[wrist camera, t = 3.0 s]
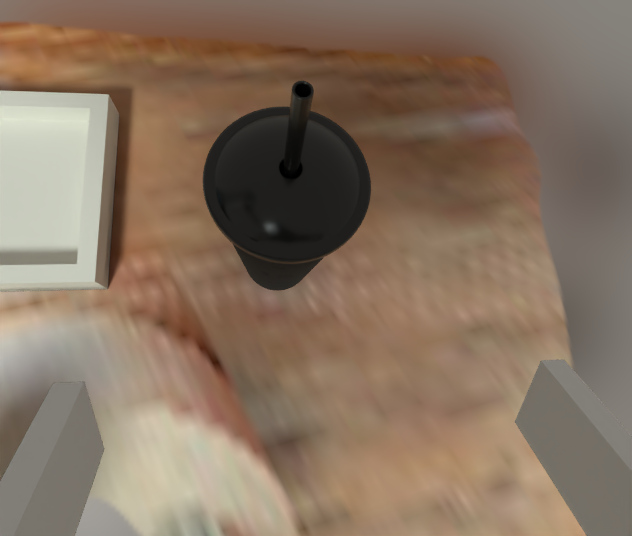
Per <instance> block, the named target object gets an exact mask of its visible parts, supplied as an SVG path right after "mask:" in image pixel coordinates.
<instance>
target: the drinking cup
mask: <svg viewBox="0 0 632 536" xmlns="http://www.w3.org/2000/svg"><path fill="white" fill-rule="evenodd" d="M313 93H314V90H313V87H312V85H311V84H310V83H308V82H306V81H298V82H296V83H295V84H294V85H293V87H292V95H291V103H290V107H271V108H266V109H261V110H258V111H254V112H252V113H249V114H247V115H245V116H243V117H241V118H239V119H238V120H236V121H235V122H233V123H232V124H231V125H230V126H228V127H227V128H226V129H225V130H224V131H223V132H222V133H221V134H220V136H219V137H218V138H217V139H216V141H215V142H214V144H213V145H212V147H211V149H210V151H209V154H208V156H207V159H206V162H205V166H204V172H203V191H204V196H205V200H206V204H207V207H208V210H209V212H210V214H211V217H212V218H213V220H214V222H215V224H216V225H217V227H218V228H219V230H220V231H221V232H222V233H223V234H224V235H225V236H226V237H227V238H228V239H229V240H230V241H231V242H232V243H233V245H234V247H235V249H236V251H237V253H238V254H239V256H240V258H241V260H242V262H243V264H244V266H245V267H246V269H247V271H248V273H249V275H250V276H251V278H252V279H253V280H254V281H255V282H256V283H257V284H259V285H260V286H262V287H264V288H267V289H270V290H285V289H288V288H291V287H293V286H294V285H296V284H297V283H299V282H300V281H301V280H302V279H303V278H304V277H305V276H306V275H307V274H308V273H309V272H310V271H311V270H312V269H313V268H314V267H315V266H316V265H317V264H318V263H319V262H320V261H321V260H322V259H323V258H324V257H325V256H327V255H329V254H331V253H333V252H334V251H336V250H337V249H339V248H340V247H341V246H343V245H344V244H345V243H346V242H347V241H348V240H349V239H350V238H351V237H352V236H353V235H354V233H355V232H356V231H357V229H358V228H359V226H360V225H361V223H362V221H363V219H364V217H365V215H366V212H367V209H368V206H369V202H370V195H371V181H370V174H369V170H368V166H367V164H366V161H365V158H364V156H363V154H362V152H361V150H360V149H359V147H358V145H357V144H356V143H355V141H354V140H353V139H352V138H351V136H350V135H349V134H348V133H347V132H346V131H345V130H344V129H342V128H341V127H340V126H339V125H337V124H336V123H335V122H333V121H332V120H330V119H328V118H326V117H324V116H322V115H320V114H318V113H315V112H312V111H310V108H311V103H312V98H313Z"/></svg>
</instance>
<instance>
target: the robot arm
mask: <svg viewBox="0 0 632 536" xmlns="http://www.w3.org/2000/svg"><path fill="white" fill-rule="evenodd" d="M515 423H516V425H517V426H518V428H519V429H520V431H521V433H522V434H523V436H524V437H525V439H526V440H527V442H528V444H529V445H530V447H531V448H532V450H533V451H534V453H535V455H536V456H537V458H538V459H539V461H540V463H541V464H542V466H543V467H544V469H545V470H546V472H547V474H548V475H549V477H550V478H551V480H552V481H553V483H554V485H555V486H556V488H557V489H558V491H559V493H560V494H561V496H562V497H563V499H564V500H565V502H566V504H567V505H568V507H569V508H570V510H571V511H572V513H573V515H574V516H575V518H576V519H577V521H578V523H579V524H580V526H581V527H582V529H583V530H584V532H585V534H586V535H587V536H632V436H631V435H630V433H629V432H628V431H627V430H626V429H625V428H624V427H623V426H622V425H621V423H620V422H619V421H618V420H617V419H616V418H615V417H614V416H613V415H612V413H611V412H610V411H609V410H608V409H607V408H606V406H605V405H604V404H603V403H602V402H601V401H600V400H599V399H598V397H597V396H596V395H595V394H594V393H593V392H592V391H591V390H590V388H589V387H588V386H587V385H586V384H585V383H584V382H583V381H582V379H581V378H580V377H579V376H578V375H577V374H576V373H575V372H574V370H573V369H572V368H571V367H570V366H569V365H568V364H567V362H566V361H565V360H543V361H541V362H540V364H539V366H538V369H537V371H536V374H535V376H534V378H533V381H532V383H531V385H530V388H529V390H528V392H527V395H526V397H525V399H524V402H523V404H522V406H521V409H520V411H519V413H518V416H517V418H516V420H515ZM103 452H104V446H103V443H102V439H101V436H100V433H99V429H98V426H97V423H96V419H95V416H94V413H93V409H92V406H91V402H90V399H89V396H88V392H87V389H86V386H85V382H65V383H53V385H52V386H51V388H50V390H49V392H48V394H47V396H46V397H45V399H44V401H43V403H42V405H41V407H40V409H39V410H38V412H37V414H36V416H35V418H34V420H33V421H32V423H31V425H30V427H29V429H28V431H27V433H26V434H25V436H24V438H23V440H22V442H21V444H20V446H19V447H18V449H17V451H16V453H15V455H14V457H13V458H12V460H11V462H10V464H9V466H8V468H7V470H6V471H5V473H4V475H3V477H2V479H1V481H0V536H75V533H76V530H77V527H78V525H79V522H80V519H81V516H82V513H83V510H84V507H85V504H86V501H87V498H88V495H89V492H90V490H91V487H92V484H93V481H94V478H95V475H96V472H97V469H98V466H99V463H100V460H101V457H102V455H103Z"/></svg>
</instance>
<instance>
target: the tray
mask: <svg viewBox="0 0 632 536" xmlns="http://www.w3.org/2000/svg"><path fill="white" fill-rule="evenodd" d="M118 128H119V113H118V111H117V109H116V107H115V105H114V103H113V101H112V100H111V98H110V96H109V94H84V93H55V92H26V91H0V292H6V291H49V290H91V289H108V278H109V263H110V248H111V233H112V218H113V203H114V188H115V173H116V158H117V143H118Z"/></svg>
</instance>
